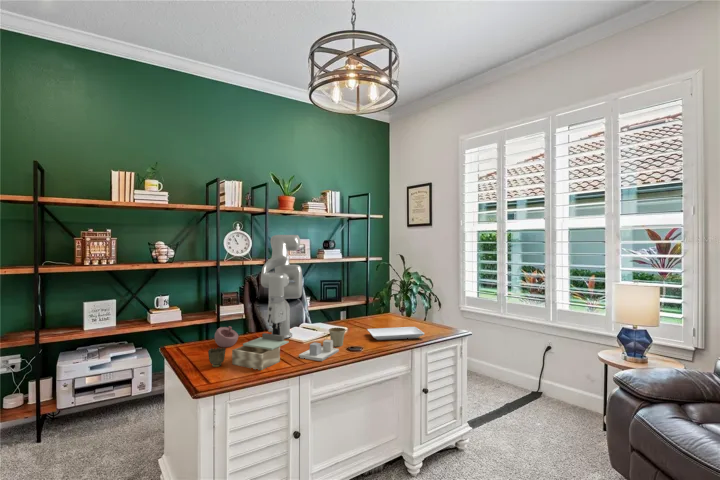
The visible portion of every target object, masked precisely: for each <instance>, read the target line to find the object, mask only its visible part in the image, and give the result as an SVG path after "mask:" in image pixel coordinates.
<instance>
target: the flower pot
mask: <svg viewBox="0 0 720 480" xmlns="http://www.w3.org/2000/svg"><path fill="white" fill-rule="evenodd" d="M346 330H347V329H346V328H344V327H331V328H328V332H329V337H330V340H333V348H335V347H336V348H337V347H340V348H341V347H342V346H344V338H345V333H346Z"/></svg>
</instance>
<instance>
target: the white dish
mask: <svg viewBox="0 0 720 480" xmlns="http://www.w3.org/2000/svg"><path fill="white" fill-rule="evenodd" d="M339 352H340V348H337V347H336V348H335V347H333V350H332V351H331V352H323V345H321V354H319V355H317V356H316V355H310V348H309V349H308V350H305V351H304V352H301V353H299V354H298V358H299V357H300V359H304V358H305V359H306V360H310V361H318V362H323V361H326V359H329V358H330V357H332V356H334V355H335V354H337V353H339Z"/></svg>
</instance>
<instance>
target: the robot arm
mask: <svg viewBox="0 0 720 480" xmlns="http://www.w3.org/2000/svg"><path fill="white" fill-rule="evenodd" d="M270 246H271V251H272V252H271V257H270V258H269V259H268V260H267V261H266V262H265V263H264V265H263V266H262V268H261V274H260V284H261V285H260V286H262V287H263V288H267V289H268V305H267V314H266V315H267V316H266V317H267V318H266V319H267V323H268V327H269V328H268V333H271V334H275V335H283V336H284V340H285V339H289V337H290V338H291V336H292V337H293V333H292V332H290V331H291V330H290V329H291V328H290V327H291V325H290V324H291V322H290V321H291V318H290V317H291V315H290V313H291V312H290V311H291V310H290V309H291V307H290V303H289V302H288V301H287V299H288V300H290V299H300V298H301V297H302V294H303V270H302V266H301V265H299V264H290V256H289V254H288V252H294V251H296V252H297V251H298V250H299V249H300V246H301V238H300V236H299V235H298V234H274V235H272V236H271V237H270ZM273 269H274V272H270V271H271V270H273ZM269 272H270V273H269ZM291 281H292V282H291Z"/></svg>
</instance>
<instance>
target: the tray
mask: <svg viewBox="0 0 720 480" xmlns="http://www.w3.org/2000/svg"><path fill="white" fill-rule="evenodd" d="M366 331H368V332H369V334H370V335H371V336H372V337H373V338H374V339H375V340H377V341H386V340H387V341H388V340H402V339H404V340H405V339H407V338H408V339H418V338H419V337H422V336H424V335H425V332H424V331H422V330H421V329H419V328H418V327H416V326H403V327H401V326H400V327H397V326H396V327H383V328H382V327H379V328H366Z"/></svg>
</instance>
